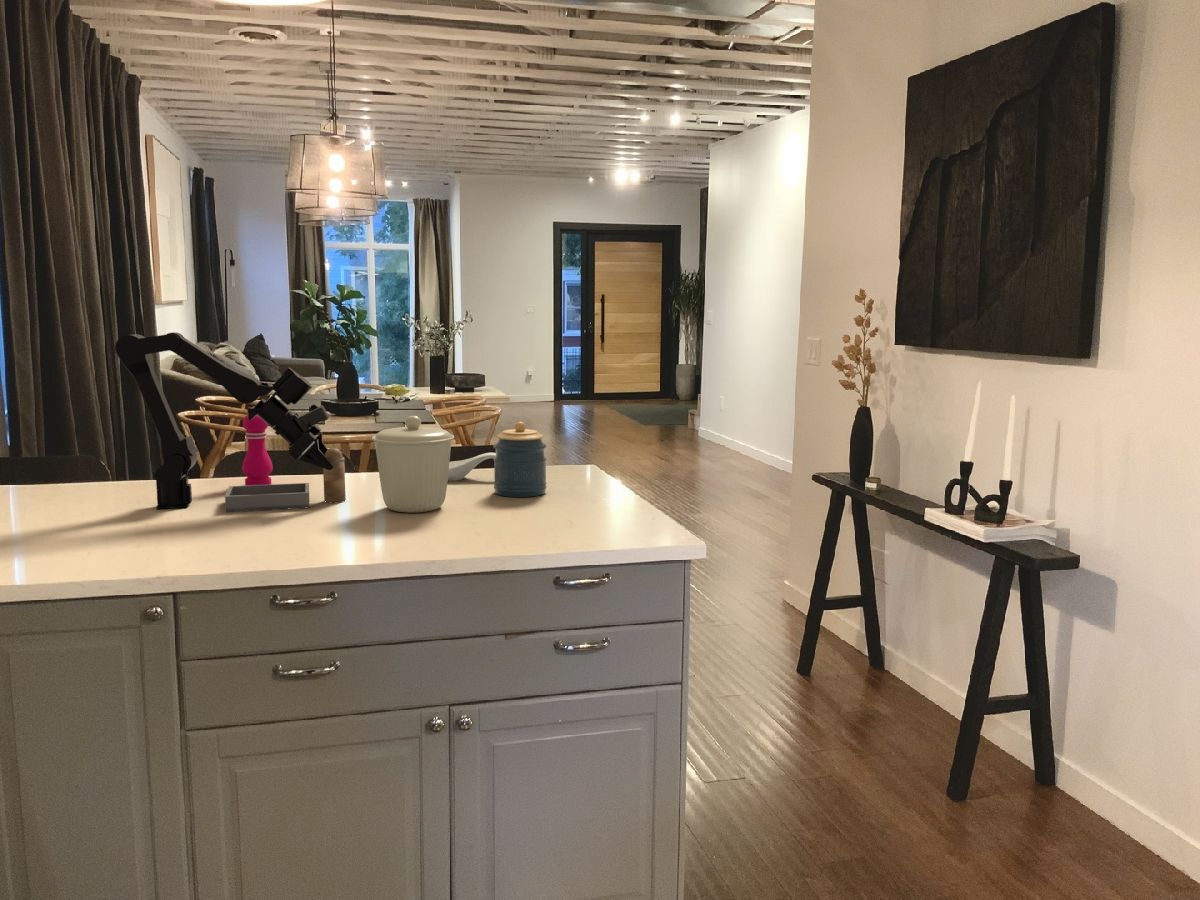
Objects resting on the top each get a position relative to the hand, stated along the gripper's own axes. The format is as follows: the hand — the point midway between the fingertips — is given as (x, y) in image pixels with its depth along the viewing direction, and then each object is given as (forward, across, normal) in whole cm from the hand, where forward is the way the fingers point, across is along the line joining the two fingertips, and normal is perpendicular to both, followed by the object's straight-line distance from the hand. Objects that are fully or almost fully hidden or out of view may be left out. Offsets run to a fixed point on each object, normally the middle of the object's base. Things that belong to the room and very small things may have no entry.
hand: (333, 465), depth 218 cm
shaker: (+6, 0, +6) cm, 8 cm away
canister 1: (+19, -12, -7) cm, 23 cm away
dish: (-4, -2, +16) cm, 17 cm away
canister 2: (+37, +3, -25) cm, 45 cm away
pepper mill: (-8, +23, +20) cm, 32 cm away
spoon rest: (+30, +24, -17) cm, 42 cm away
